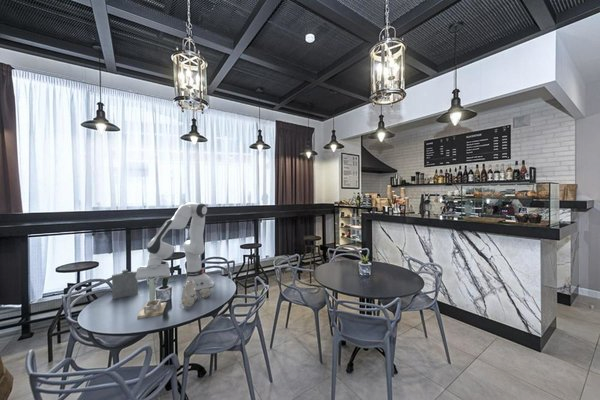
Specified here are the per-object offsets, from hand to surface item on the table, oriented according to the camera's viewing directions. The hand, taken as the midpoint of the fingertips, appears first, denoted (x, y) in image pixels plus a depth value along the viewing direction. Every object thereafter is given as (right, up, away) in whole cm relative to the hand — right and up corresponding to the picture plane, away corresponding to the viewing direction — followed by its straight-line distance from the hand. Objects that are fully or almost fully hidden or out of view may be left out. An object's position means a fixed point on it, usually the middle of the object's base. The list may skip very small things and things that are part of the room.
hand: (152, 284), depth 162 cm
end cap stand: (0, -19, +1) cm, 19 cm away
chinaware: (+21, -18, +15) cm, 32 cm away
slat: (0, -11, +1) cm, 11 cm away
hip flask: (-36, -18, +26) cm, 48 cm away
